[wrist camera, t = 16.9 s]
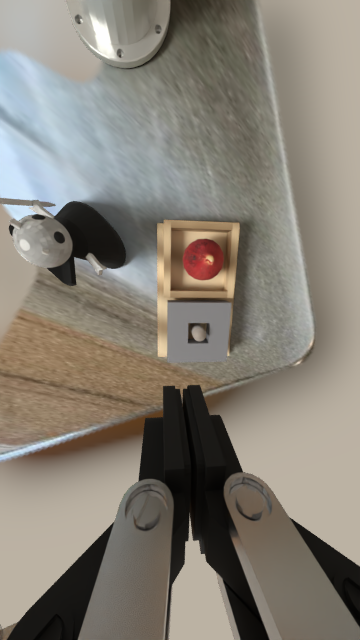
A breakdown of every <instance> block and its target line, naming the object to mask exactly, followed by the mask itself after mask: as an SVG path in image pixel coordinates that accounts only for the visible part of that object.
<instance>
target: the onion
mask: <svg viewBox="0 0 360 640" xmlns="http://www.w3.org/2000/svg"><path fill="white" fill-rule="evenodd" d="M223 262H224V257H223V251H222V249H221V248H220V246H219V245H218V244H217V243H216V242H215V241H213V240H210V239H197V240H195V241H193V242H192V243H190V244H189V246H188V247H187V248H186V249H185V251H184V255H183V265H184V269H185V270H186V272H187V273H188V274H189V275H190V276H191V277H193V278H194V279H197V280H202V281H203V280H210V279H212V278H214V277H215V276H217V275H218V273H219V272H220V270H221V269H222V266H223Z"/></svg>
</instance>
